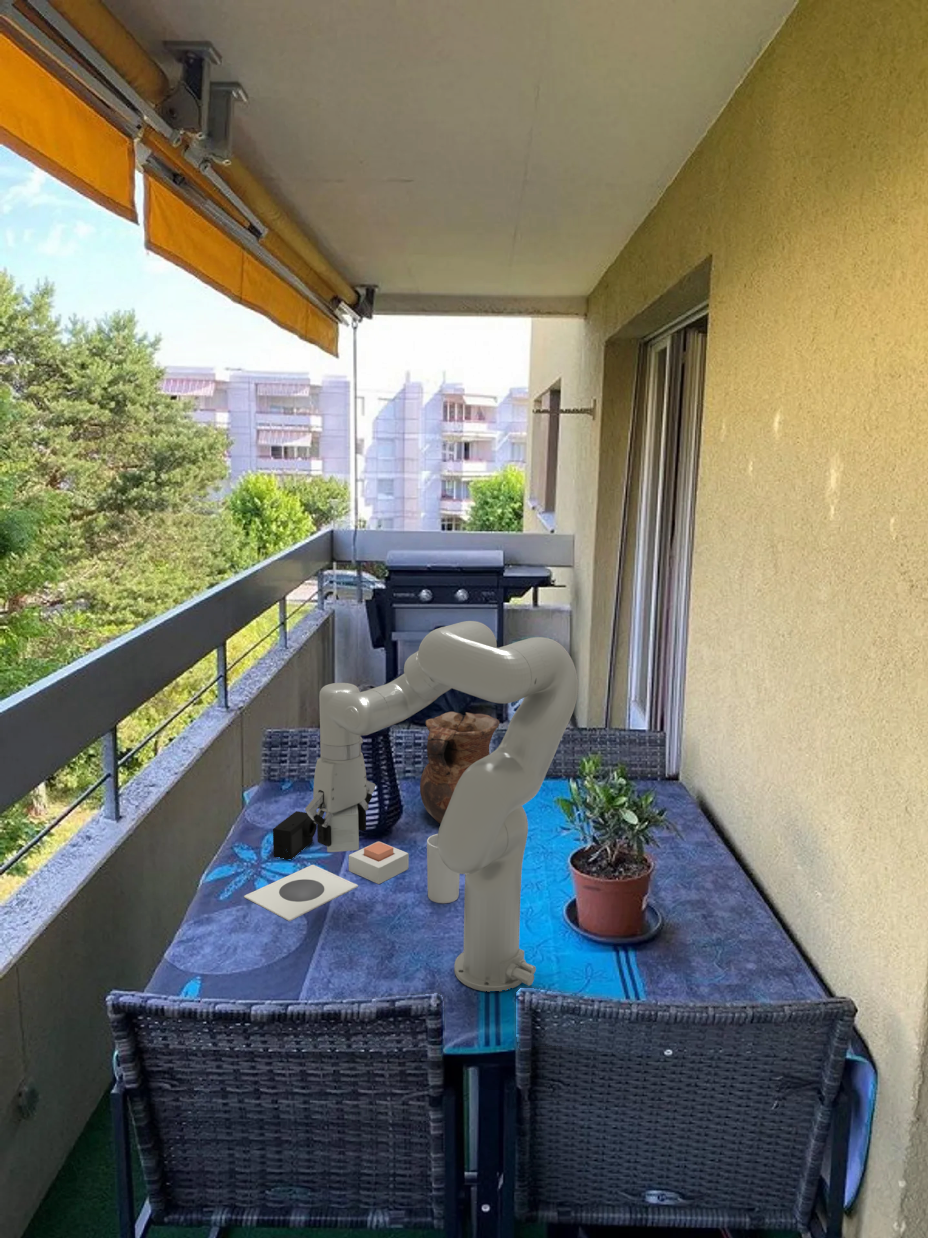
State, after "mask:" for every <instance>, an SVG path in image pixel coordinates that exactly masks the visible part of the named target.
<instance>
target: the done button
mask: <svg viewBox="0 0 928 1238" xmlns="http://www.w3.org/2000/svg"><path fill="white" fill-rule="evenodd" d="M376 842H377V843H376ZM376 842H374V843H375V844H374V843H372V844H373V845H372V844H369V845H370V846H369V845H367V846H368V847H367V846H365V847H366V848H365V847H363V848H364V856H366V857H369V858H371V859H373V860H376V861H378V862H379V861H381V860H384V859H386V858H388V857H390V856H392V855H393V847H394V846H392V847H390V846H391V845H389V844H387V845H386V843H384V842H382V841H379V842H378V841H376ZM381 842H382V843H381ZM383 843H384V844H383ZM388 845H389V846H388Z"/></svg>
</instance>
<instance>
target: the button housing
mask: <svg viewBox="0 0 928 1238" xmlns="http://www.w3.org/2000/svg"><path fill="white" fill-rule="evenodd" d="M377 842H381V843H383V844H386V843H384V842H382V841H379V840H378V841H376V842H374V843H372V844H369V845H367V846H365V847H363V848H361V849H359V850H355V852H352V853H350V854H348V871H349V872H351V873H353V874H355V875H358V876H360V877H362V878H364V879H366V880H369V881H371V882H373V883H375V884H378V885H380V884H382V883H385V882H386V881H388V880H390V879H392V878H393V877H395V876H398V875H399V874H401V873H404V872H406V871H407V870H409V860H410V859H409V853H408V852H406V851H404V850H401V849H399V848H396V847H394V846H391V845H389V844H386V845H388V846H390V847H393V855H392V856H390V857H388V858H386V859H384V860H381V861H379V862H378V861H376V860H373V859H371V858H369V857H366V856H364V848H366V847H368V846H370V845H373V844H375V843H377Z"/></svg>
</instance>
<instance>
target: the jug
mask: <svg viewBox="0 0 928 1238" xmlns="http://www.w3.org/2000/svg"><path fill="white" fill-rule="evenodd" d="M464 714H465V715H463V714H462V713H460V712H456V711H448V712H445V713H442V714H440V715H438V716H435V717H434V718H429V719H426V720H425V725H426V726H425V727H426V729H427V731H429V733H428V735H427V741H426V754H427V760H428V763H427V764H426V766H425V767H424V769H423V771H422V773H421V776H420V781H419V794H420V798H421V801H422V805H423V807H424V808H425V810H426V812H427V813H428V814H429V815H430V816H431V817H432V818H433V819H434V820H435V821H436V822H437V823H438V824H440V825H441V822H442V820H443V817H444V815H445V812H446V810H447V807H448V805H449V802H450V800H451V797H452V795H453V792H454V790H455V788H456V785H457V783H458V781H459V779H460V777H461V776H462V774H463V773H464V772H465V770H466V769H467V768H468V767H469V766H471V765H472V764H473V763H475V762H476V761H478V760H480V759H482V758H484V757H486V756H488V755H489V754H490V745H491V740H492V737H493V735H494V733H495V732H496V730H497V728H498V727H499V726H500V720H499V719H497V718H494V717H492V716H490V715H488V714H485V713H472V712H465V713H464Z"/></svg>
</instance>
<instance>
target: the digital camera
mask: <svg viewBox="0 0 928 1238" xmlns="http://www.w3.org/2000/svg"><path fill="white" fill-rule="evenodd" d="M316 832H317V824H315V823H314V821H312V820H311V819H310V816H308V814H307V813H306V811H299V810H296V811H294V812H293V813H292V814H290V815H289V816H287V817H286V818H285V819H284V820H282V821H280V823H278V824H277V825H276V826H275V827H274V828H272V844H273V845H272V850H273V858H274V857H280V858H284V859H292V858H293V857H294V858H296V857H297V856H298V855H299V854H300V853H302V851H301V850H303V849H304V848H305V847H306V846H307V847H308V846H310V845H311V844H312V843H313V842H312V841H314V838H313V837H314V836H315V834H316ZM311 842H312V843H311ZM310 843H311V844H310ZM307 847H306V848H307ZM306 848H305V849H306ZM305 849H304V850H305ZM304 850H303V851H304ZM299 852H300V853H299ZM298 853H299V854H298ZM297 854H298V855H297ZM296 855H297V856H296ZM295 856H296V857H295ZM294 858H293V859H294ZM284 859H283V860H284ZM293 859H292V860H293Z"/></svg>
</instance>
